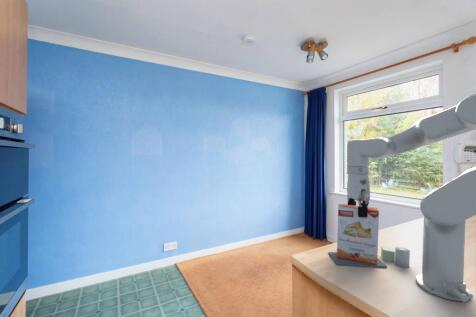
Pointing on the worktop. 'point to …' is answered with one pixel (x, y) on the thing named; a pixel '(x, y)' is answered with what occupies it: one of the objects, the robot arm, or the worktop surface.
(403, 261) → the grey rounded capsule
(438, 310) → the worktop surface
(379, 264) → the mat
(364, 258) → the cracker box
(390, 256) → the sage block
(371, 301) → the worktop surface
